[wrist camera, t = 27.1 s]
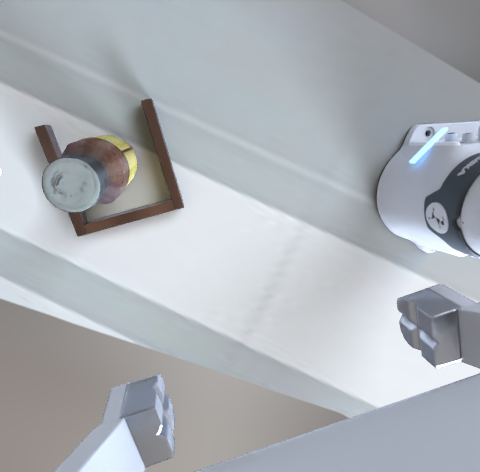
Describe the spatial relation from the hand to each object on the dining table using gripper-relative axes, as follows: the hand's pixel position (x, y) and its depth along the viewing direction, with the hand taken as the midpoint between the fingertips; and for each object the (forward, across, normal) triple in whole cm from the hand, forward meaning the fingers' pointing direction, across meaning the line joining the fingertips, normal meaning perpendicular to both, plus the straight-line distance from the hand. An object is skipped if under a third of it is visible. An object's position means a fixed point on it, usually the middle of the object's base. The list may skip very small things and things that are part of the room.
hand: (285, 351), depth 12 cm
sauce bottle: (+37, +10, -6) cm, 39 cm away
